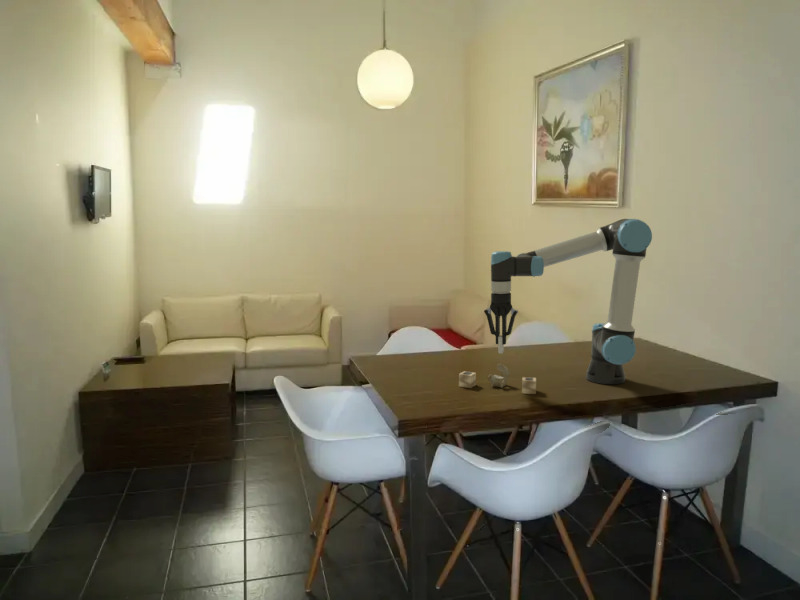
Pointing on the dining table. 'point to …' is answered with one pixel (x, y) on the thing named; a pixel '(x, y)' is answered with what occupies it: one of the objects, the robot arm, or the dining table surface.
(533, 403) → the dining table surface
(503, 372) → the white irregular piece
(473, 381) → the marked cube 1
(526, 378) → the marked cube 2
